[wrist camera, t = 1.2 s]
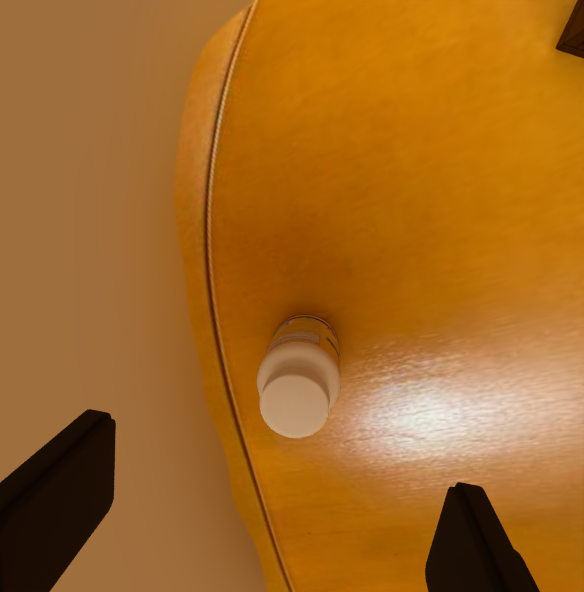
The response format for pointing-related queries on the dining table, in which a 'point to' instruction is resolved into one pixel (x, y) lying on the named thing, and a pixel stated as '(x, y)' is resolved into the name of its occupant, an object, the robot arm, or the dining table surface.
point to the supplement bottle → (299, 376)
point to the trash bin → (574, 32)
